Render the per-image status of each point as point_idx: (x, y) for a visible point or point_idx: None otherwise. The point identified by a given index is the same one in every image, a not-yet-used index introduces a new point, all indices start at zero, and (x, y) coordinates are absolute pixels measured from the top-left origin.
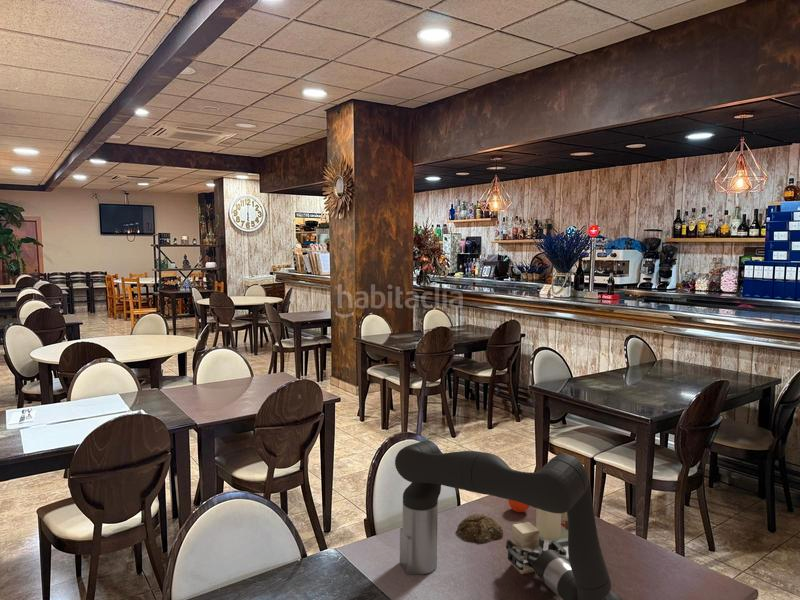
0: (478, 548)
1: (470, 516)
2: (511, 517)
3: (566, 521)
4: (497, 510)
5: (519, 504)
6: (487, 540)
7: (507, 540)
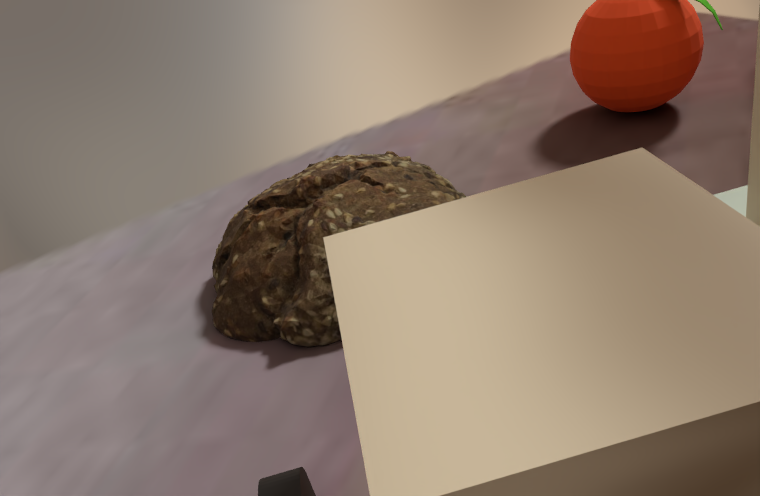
0: (255, 404)
1: (295, 175)
2: (583, 146)
3: None
4: (516, 123)
5: (630, 64)
6: None
7: (259, 489)
